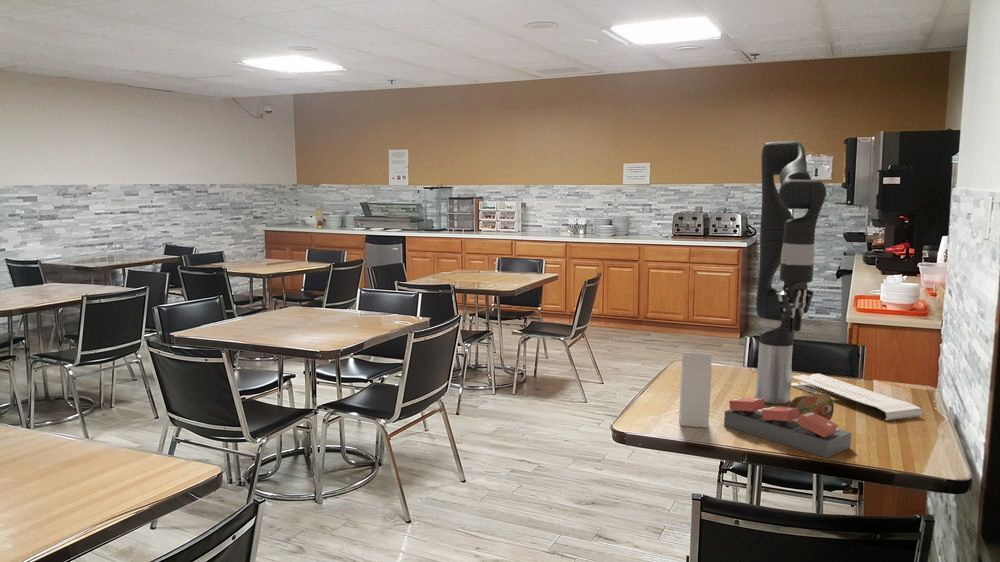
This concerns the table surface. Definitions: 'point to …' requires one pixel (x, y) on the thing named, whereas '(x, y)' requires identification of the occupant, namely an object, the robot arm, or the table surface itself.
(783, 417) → the block
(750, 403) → the block
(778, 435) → the power strip
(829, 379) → the white flat bar
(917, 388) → the table surface
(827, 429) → the rocker
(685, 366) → the milk carton
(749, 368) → the table surface
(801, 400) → the tin
